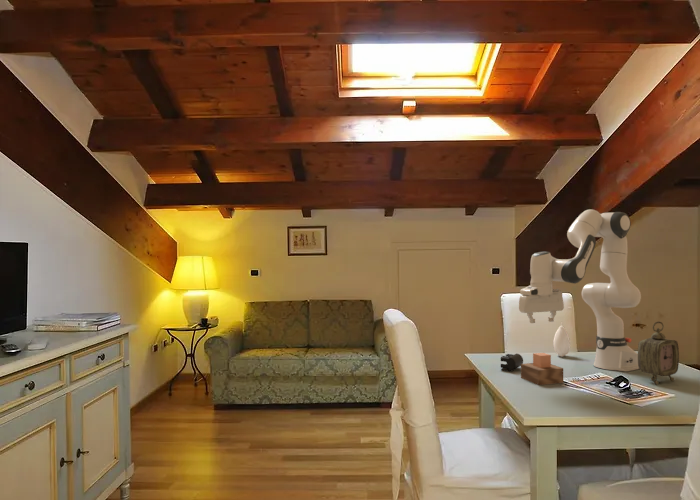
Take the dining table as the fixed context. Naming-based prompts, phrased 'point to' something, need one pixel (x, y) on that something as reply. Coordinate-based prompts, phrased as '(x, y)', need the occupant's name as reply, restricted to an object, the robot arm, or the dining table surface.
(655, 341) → the tabletop clock
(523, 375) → the walnut block
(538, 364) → the terracotta block
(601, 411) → the dining table surface
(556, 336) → the white teardrop ornament
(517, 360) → the end cap
